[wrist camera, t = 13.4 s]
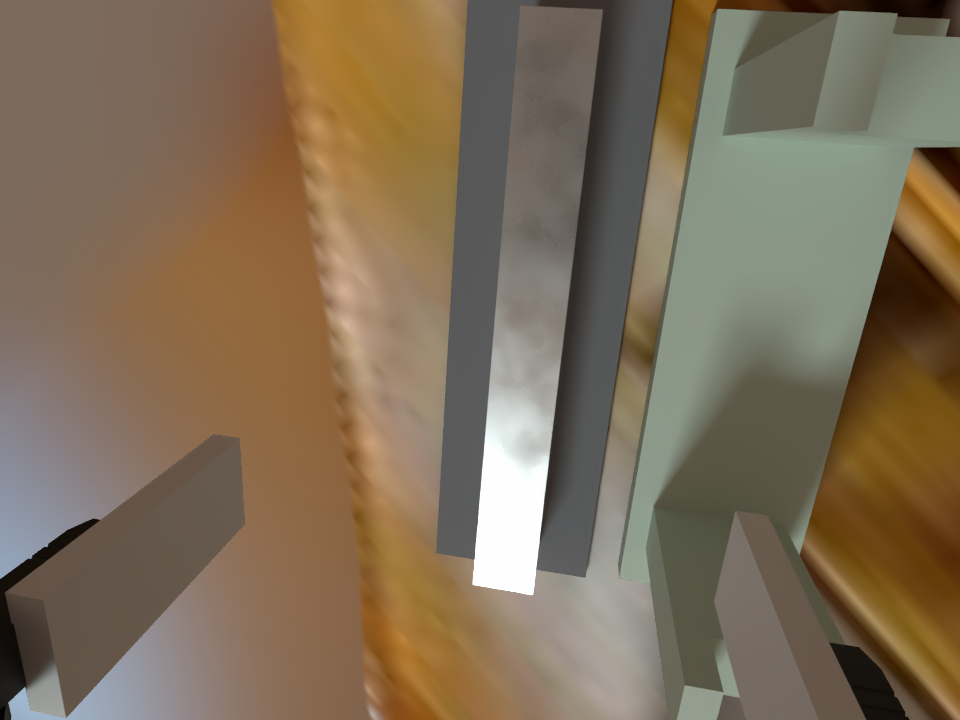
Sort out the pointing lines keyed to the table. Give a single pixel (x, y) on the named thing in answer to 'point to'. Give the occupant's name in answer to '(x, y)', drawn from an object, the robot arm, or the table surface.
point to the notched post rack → (770, 298)
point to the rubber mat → (595, 274)
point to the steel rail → (534, 283)
